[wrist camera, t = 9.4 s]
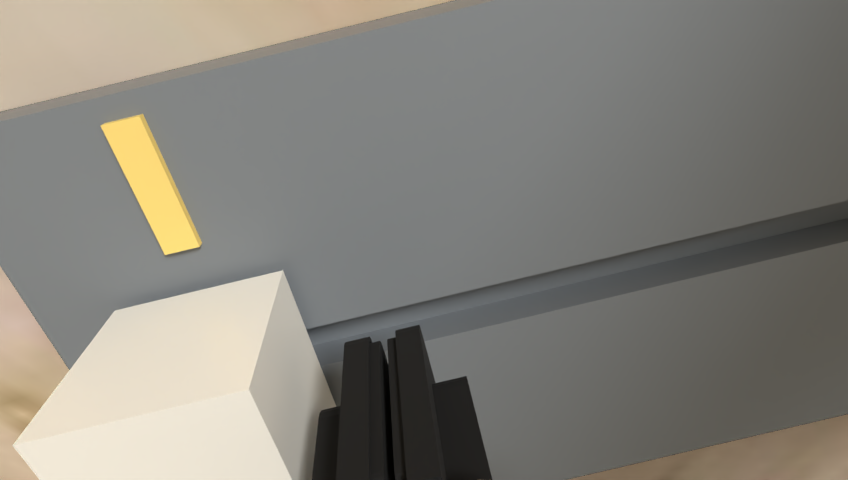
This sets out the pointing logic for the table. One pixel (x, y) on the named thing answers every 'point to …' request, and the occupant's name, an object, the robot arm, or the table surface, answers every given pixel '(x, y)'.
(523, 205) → the fader board
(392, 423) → the robot arm
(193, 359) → the fader knob
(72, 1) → the table surface
